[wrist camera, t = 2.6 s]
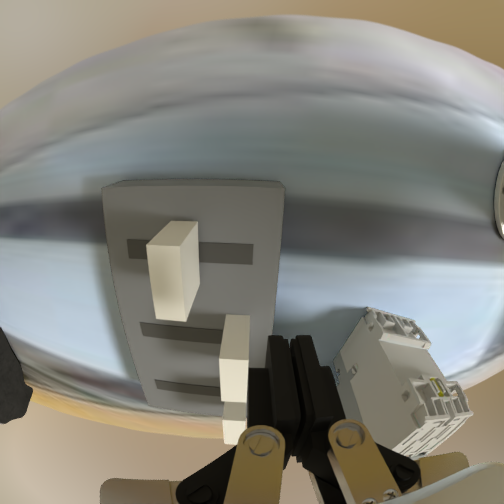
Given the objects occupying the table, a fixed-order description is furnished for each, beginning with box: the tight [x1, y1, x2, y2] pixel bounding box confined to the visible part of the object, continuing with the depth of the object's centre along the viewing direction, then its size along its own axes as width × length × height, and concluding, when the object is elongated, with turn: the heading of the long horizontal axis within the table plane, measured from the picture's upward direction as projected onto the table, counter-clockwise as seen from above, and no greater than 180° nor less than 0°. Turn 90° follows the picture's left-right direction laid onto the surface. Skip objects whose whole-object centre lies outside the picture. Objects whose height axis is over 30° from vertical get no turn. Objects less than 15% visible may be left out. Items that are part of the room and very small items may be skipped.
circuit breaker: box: [333, 307, 473, 460], centre depth 23 cm, size 8×14×15 cm, turn 161°
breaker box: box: [102, 179, 285, 445], centre depth 23 cm, size 14×26×9 cm, turn 178°
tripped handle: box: [146, 221, 200, 322], centre depth 18 cm, size 2×5×5 cm, turn 178°
